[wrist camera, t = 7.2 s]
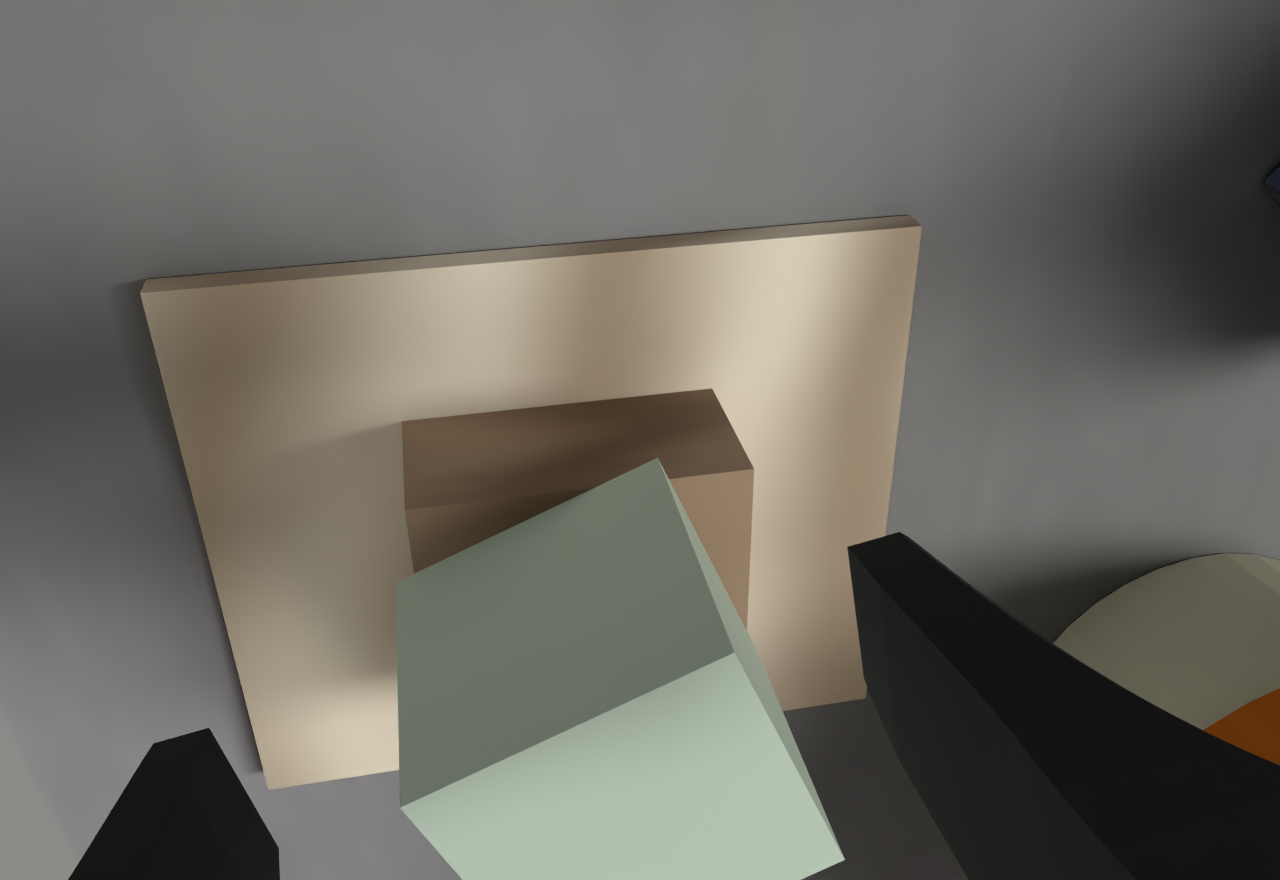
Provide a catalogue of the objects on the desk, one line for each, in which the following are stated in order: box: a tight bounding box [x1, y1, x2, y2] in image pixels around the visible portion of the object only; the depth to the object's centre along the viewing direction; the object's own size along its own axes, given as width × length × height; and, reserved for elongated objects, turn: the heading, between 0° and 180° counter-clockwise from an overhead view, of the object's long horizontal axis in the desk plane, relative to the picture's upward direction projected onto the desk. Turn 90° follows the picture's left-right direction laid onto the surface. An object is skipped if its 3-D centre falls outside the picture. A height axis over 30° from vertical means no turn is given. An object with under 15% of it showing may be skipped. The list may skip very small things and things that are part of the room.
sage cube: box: [396, 458, 845, 880], centre depth 19 cm, size 5×5×5 cm
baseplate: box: [140, 215, 922, 790], centre depth 23 cm, size 14×12×4 cm
